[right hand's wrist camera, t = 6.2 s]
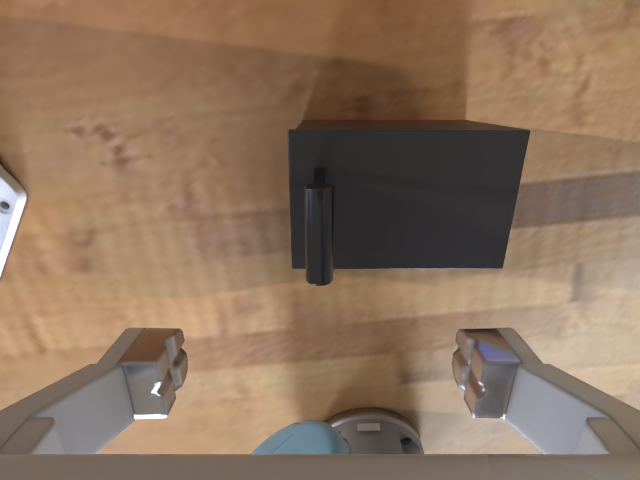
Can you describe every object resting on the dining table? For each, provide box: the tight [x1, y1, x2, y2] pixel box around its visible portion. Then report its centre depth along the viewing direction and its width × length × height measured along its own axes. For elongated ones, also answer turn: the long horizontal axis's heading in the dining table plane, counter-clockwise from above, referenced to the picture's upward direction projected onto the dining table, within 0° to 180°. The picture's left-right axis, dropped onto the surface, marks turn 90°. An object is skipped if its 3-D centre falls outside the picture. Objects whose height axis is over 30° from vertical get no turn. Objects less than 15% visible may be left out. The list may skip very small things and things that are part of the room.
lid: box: [288, 129, 530, 286], centre depth 23 cm, size 16×10×8 cm, turn 90°
